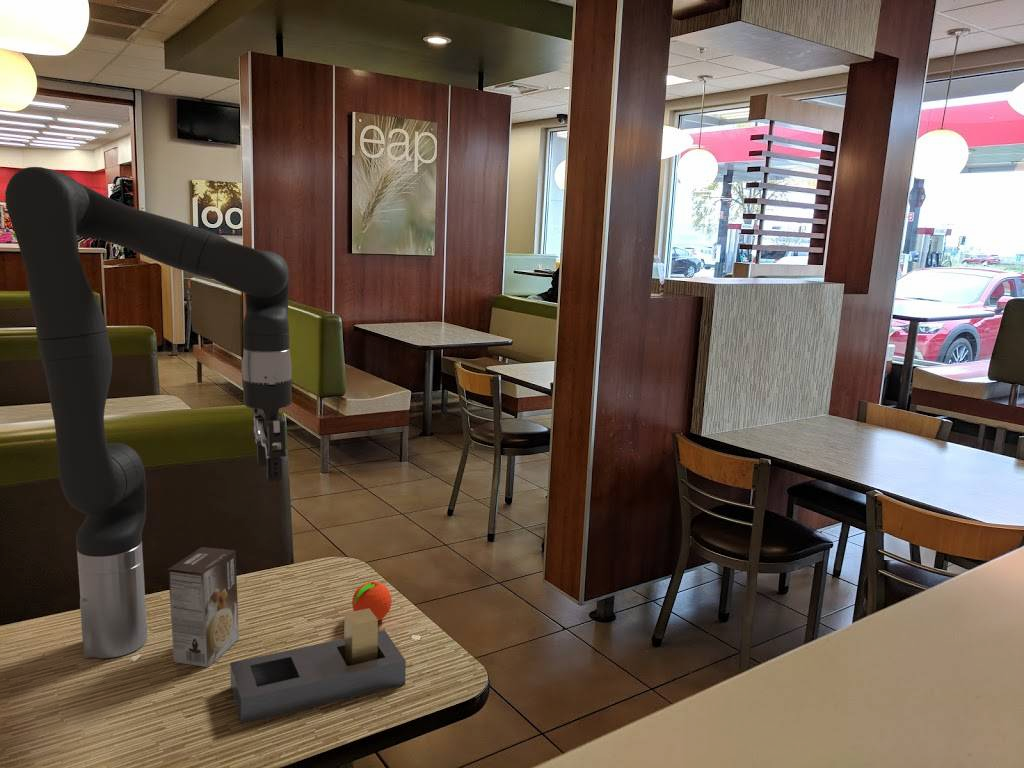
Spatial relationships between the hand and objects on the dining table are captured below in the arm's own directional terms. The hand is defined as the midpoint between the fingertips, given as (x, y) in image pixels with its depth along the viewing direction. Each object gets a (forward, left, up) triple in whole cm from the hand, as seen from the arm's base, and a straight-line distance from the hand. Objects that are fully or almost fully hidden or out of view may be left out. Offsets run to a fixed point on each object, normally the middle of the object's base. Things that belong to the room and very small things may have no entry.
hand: (269, 472), depth 128 cm
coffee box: (-11, -3, -28) cm, 31 cm away
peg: (+10, -20, -28) cm, 36 cm away
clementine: (+16, -4, -28) cm, 33 cm away
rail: (+3, -20, -28) cm, 35 cm away
